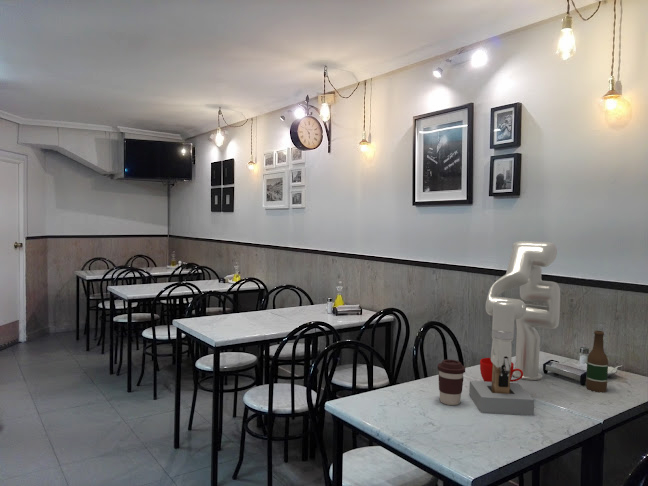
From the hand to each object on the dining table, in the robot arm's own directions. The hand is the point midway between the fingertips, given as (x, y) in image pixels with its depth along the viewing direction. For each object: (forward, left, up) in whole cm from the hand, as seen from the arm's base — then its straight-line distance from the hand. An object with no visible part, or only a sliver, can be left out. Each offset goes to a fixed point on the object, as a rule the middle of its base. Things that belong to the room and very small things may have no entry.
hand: (500, 383), depth 181 cm
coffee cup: (0, -18, -8) cm, 20 cm away
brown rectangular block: (0, 0, -7) cm, 7 cm away
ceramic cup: (-20, +6, -8) cm, 22 cm away
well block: (0, 0, -8) cm, 8 cm away
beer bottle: (-23, +45, -8) cm, 51 cm away
